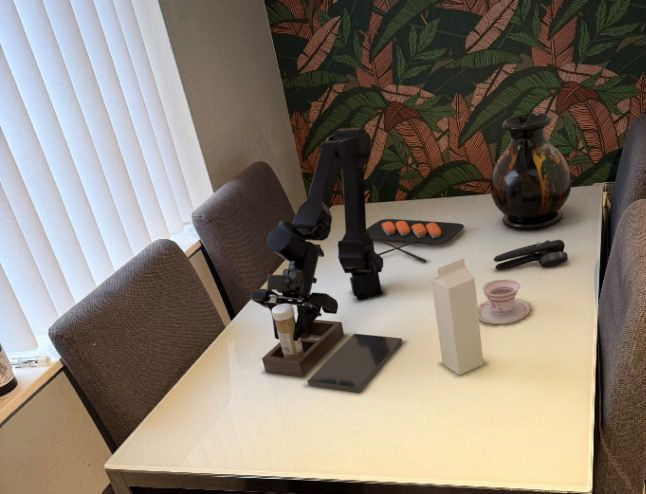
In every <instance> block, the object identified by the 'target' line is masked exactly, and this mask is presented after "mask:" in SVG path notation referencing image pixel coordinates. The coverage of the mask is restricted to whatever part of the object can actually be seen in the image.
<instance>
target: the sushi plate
mask: <svg viewBox="0 0 646 494" xmlns="http://www.w3.org/2000/svg"><path fill="white" fill-rule="evenodd" d="M464 229H465V225H464V224H462V223H458V222H447V221H430V220H415V219H414V220H413V219H399V218H384V219H380V220H378V221H376V222H374V223H373V224H371V225H370V226H368V227H366V231H367V233H368V235H369V236H370V238H371V239H372V241H373V240H374V241H378V242H380V243H382V244H385V245H387V246H388V247H391V249H387V250H385V251H382V252H380V253H377V254H378V255H379V256H382V255H385V254H387V253H390V252H393V251H399V252H402V253H404V254H405V255H408V256H410V257H412V258H414V259H416V260H418V261H420V262H423V263H427V260H426V259H425V258H423V257H420V256H418V255H416V254H414V253H412V252H409V251H406V250H404V249H402V248H403V247H406V246H409V245H412V244H417V245H428V246H429V245H430V246H431V245H432V246H437V245H443V244H446V243H448V242H450V241H451V240H452V239H454V238H455V237H456V236H457V235H459V234H460V232H462V230H464ZM389 242H391V243H392V242H395V243H404V244H402V245H399V246H395V245H393V244H391V243H389Z"/></svg>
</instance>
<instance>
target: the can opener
mask: <svg viewBox="0 0 646 494" xmlns="http://www.w3.org/2000/svg"><path fill="white" fill-rule="evenodd" d="M565 246H566V244H565V242H564V240H562V239H554V240H549V239H547V240H544V241H543V242H540V241H537V242H536V243H535V244H534V243H533V244H530V245H526V246H521V247H519V248H518V247H517V248H516V249H512V250H509V251H506V252H503V253H500V254H498V255H496V256H495V257H494V258H493V262H495V263H497V264H496V265H495V267H494V268H495V269H496V270H497V271H503V270H509V269H514V268H518V267H520V266H523V265H526V264H530V263H533V262H537V263H538V264H539V265H540V266H541V267H543V268H553V267H557V266H561V265H562V264H564V263H566V262H567V261H568V260H569V257H568V253H567V252H566V251H565Z"/></svg>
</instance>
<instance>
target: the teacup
mask: <svg viewBox="0 0 646 494" xmlns="http://www.w3.org/2000/svg"><path fill="white" fill-rule="evenodd" d="M520 289H521V284H520V283H519V282H518V281H517V280H513V279H507V278H500V279H493V280H490V281H487V282H486V283H484V284H483V285H482V291H483V293H484V296H485V297H486V299H487V300H488V301H485V302H484V303H482V304H480V305H479V306H478V316H479V322H483V323H486V324H490V325H491V324H492V325H504V324H511V323H515V322H517V321H520V320H522V319H524V318H526V317H527V316H528V315H529V314H530V311H531V307H530V305H529V303H527V302H526V301H525V300H523V299H519V298H516V296H517V293H518V292H519V291H520Z"/></svg>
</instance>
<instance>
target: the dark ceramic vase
mask: <svg viewBox="0 0 646 494" xmlns="http://www.w3.org/2000/svg"><path fill="white" fill-rule="evenodd" d="M552 122H553V117H552V116H551V115H550V114H548V113H542V112H531V113H523V114H517V115H514V116H511V117H509V118H506V119H504V121H503V122H502V124H501V127H502V129H504V130H506V131H508V132H509V135H510V142H509V143H508V145H507V147H506V148H505V149H504V151H503V152H502V153H501V155H499V157H498V159H497V160H496V162H495V165H494V167H493V171H492V174H491V178H490V179H491V180H490V193H491V198H492V200H493V203H494V204H495V207H497V209H498V210H499V211H500V212H501V213H502V214H504V215H503V216H502V223H503V224H504V226H506V227H507V228H509V229H511V230H515V231H519V232H534V231H540V230H541V231H542V230H544V229H548V228H551V227H553V226H555V225H556V224H558V223H560V221H561V220H562V219H563V215H564V212H563V210H562V209H561V208H562V207H563V206H564V205H565V204H566V202H567V201H568V200H569V197H570V194H571V191H572V175H571V171H570V167H569V165H568V162H567V160H566V158H565V157H564V155H563V154H562V153H561V151H560V150H559V149H558V148H557V147H555V146H554V144H552V142H550V141H549V140H548V138H547V137H546V134H545V130H546V127H547V126H549V125H550V124H552Z"/></svg>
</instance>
